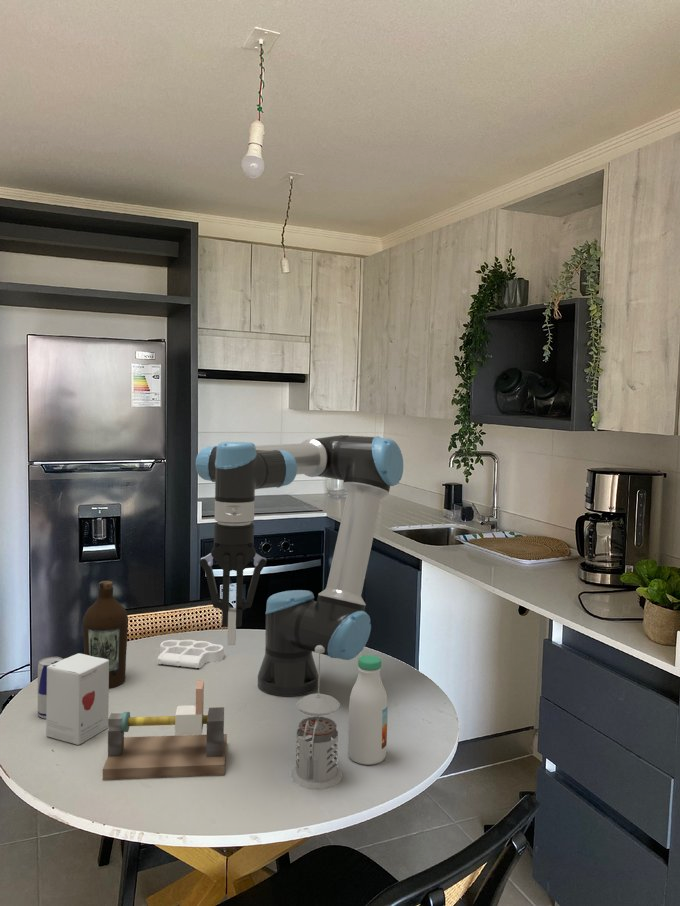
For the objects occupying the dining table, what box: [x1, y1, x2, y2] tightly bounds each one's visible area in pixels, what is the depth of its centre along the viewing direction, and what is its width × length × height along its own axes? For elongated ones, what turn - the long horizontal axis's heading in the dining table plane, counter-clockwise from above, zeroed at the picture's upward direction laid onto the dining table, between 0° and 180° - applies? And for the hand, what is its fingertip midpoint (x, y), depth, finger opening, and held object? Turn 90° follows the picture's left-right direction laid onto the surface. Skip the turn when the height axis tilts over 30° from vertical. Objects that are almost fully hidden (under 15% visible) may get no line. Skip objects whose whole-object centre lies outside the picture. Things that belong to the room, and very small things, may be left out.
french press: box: [290, 645, 343, 790], centre depth 127 cm, size 10×12×25 cm
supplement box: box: [45, 652, 110, 746], centre depth 142 cm, size 9×9×15 cm
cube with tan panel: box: [174, 680, 205, 736], centre depth 132 cm, size 5×4×9 cm
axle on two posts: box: [102, 706, 228, 781], centre depth 132 cm, size 22×12×10 cm, turn 97°
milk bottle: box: [347, 654, 388, 766], centre depth 135 cm, size 8×8×20 cm
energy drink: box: [37, 656, 64, 720], centre depth 150 cm, size 5×5×12 cm
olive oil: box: [82, 580, 129, 689], centre depth 168 cm, size 11×11×25 cm
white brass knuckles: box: [156, 639, 224, 669], centre depth 185 cm, size 3×18×15 cm
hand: (231, 642), depth 132 cm, fingers closed
